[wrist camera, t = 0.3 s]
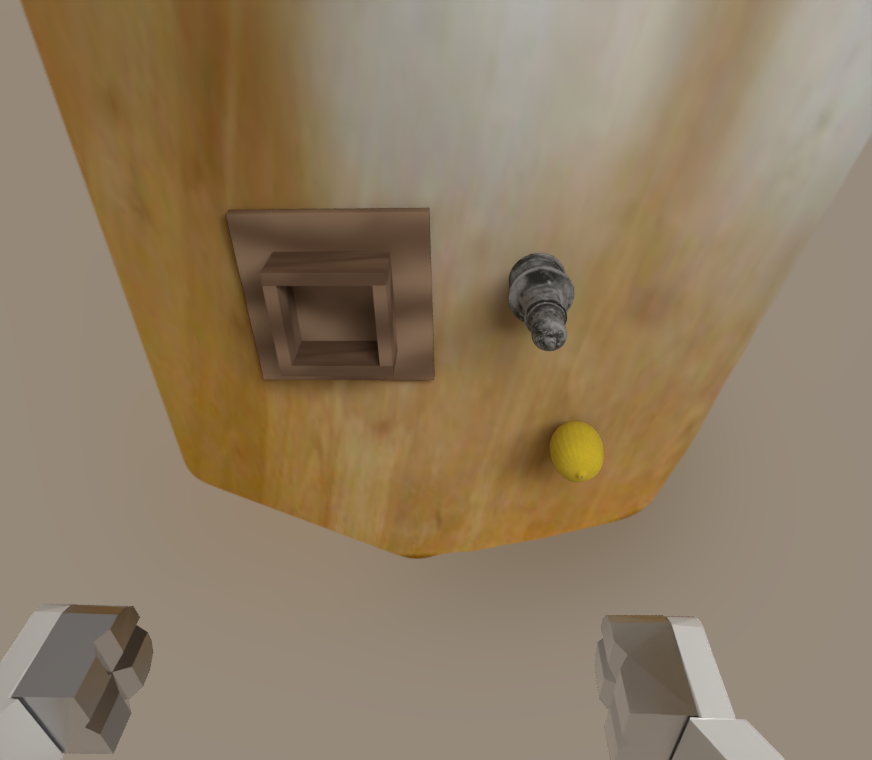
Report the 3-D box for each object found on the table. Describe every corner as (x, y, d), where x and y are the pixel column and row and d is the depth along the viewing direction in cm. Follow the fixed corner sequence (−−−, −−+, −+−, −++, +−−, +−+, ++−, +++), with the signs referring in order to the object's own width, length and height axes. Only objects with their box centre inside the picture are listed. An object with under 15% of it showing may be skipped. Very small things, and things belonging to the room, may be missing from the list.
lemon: (563, 399, 66) (574, 449, 59) (606, 418, 67) (621, 469, 60) (536, 433, 69) (543, 485, 62) (578, 451, 70) (589, 503, 63)
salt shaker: (535, 317, 60) (548, 390, 50) (493, 280, 58) (498, 348, 48) (581, 277, 57) (605, 346, 48) (539, 237, 55) (555, 300, 45)
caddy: (229, 209, 55) (208, 233, 50) (429, 207, 54) (425, 231, 49) (266, 373, 65) (251, 405, 61) (434, 374, 64) (432, 406, 60)
